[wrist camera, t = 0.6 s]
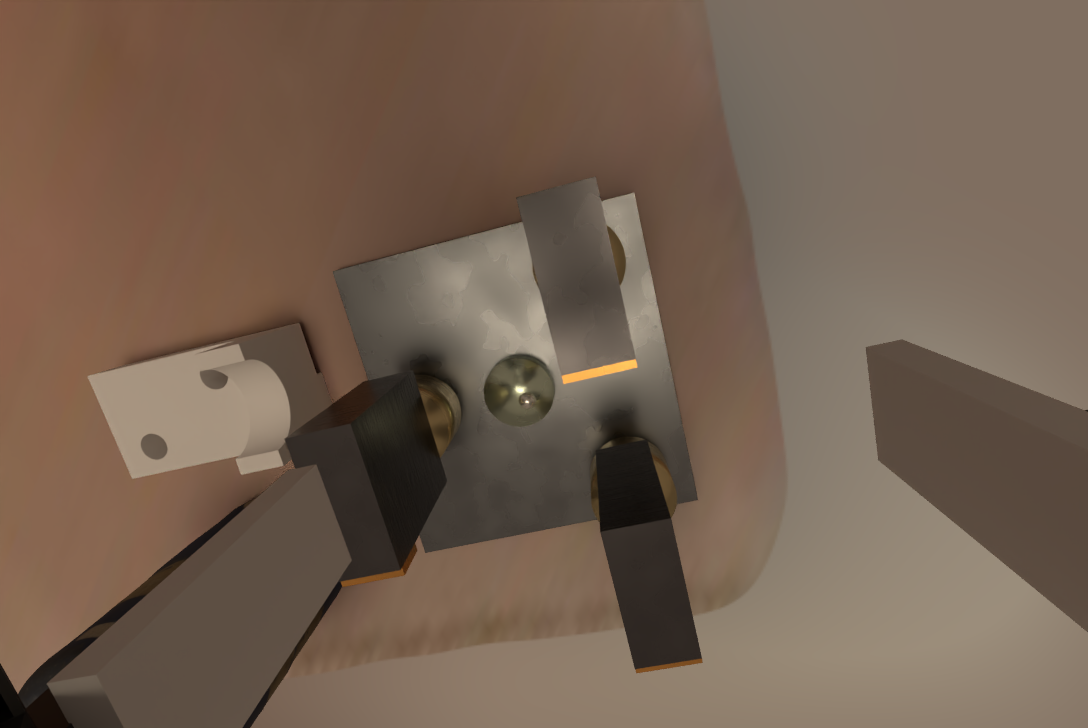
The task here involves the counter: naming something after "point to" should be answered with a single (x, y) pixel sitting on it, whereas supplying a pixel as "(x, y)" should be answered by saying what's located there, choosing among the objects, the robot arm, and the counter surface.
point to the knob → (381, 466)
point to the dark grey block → (579, 279)
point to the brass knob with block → (644, 552)
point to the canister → (79, 644)
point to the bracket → (213, 403)
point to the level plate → (514, 378)
